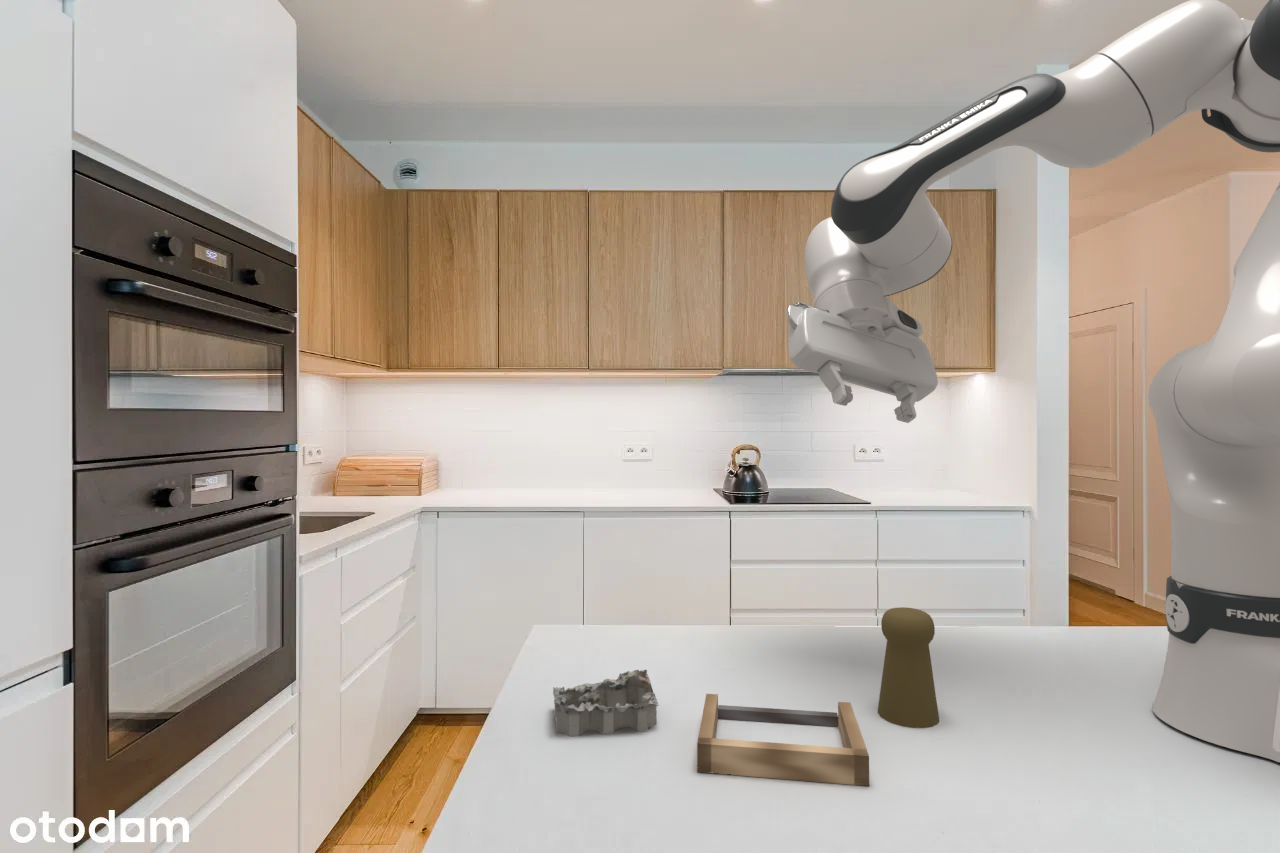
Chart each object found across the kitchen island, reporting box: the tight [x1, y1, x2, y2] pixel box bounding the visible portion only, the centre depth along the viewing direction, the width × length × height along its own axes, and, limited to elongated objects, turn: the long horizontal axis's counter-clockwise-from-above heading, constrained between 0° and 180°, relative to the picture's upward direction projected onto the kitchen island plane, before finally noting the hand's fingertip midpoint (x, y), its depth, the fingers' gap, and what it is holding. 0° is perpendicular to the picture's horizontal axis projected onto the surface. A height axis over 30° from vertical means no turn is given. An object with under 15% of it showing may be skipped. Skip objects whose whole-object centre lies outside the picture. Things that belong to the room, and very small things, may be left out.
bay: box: [696, 693, 870, 787], centre depth 64 cm, size 14×12×2 cm
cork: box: [877, 606, 940, 729], centre depth 71 cm, size 6×6×11 cm
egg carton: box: [552, 669, 659, 738], centre depth 70 cm, size 11×8×4 cm
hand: (876, 411), depth 79 cm, fingers open, 8 cm apart
